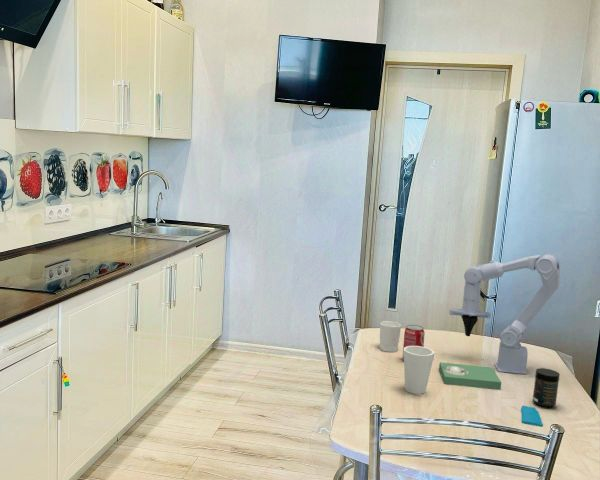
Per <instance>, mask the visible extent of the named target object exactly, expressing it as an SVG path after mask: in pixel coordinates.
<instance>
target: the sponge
mask: <svg viewBox="0 0 600 480" xmlns="http://www.w3.org/2000/svg"><path fill="white" fill-rule="evenodd" d="M520 412H521V413H520V414H521V423H522V424H525V425H531V426H536V427H544V423H543V421H542V418H541V416H540V412H539V411H538V410H537V409H536V407H533V406H528V405H521V408H520Z"/></svg>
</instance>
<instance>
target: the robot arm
mask: <svg viewBox="0 0 600 480" xmlns="http://www.w3.org/2000/svg"><path fill="white" fill-rule="evenodd" d="M523 269H529V270H531V271H532V272H533V271H535V270H536V272H537V273H538V275H539V277H540V278H541V279H540V280H541V283H542V286H541V287H540V288H539V289H538V291H537V292H536V293H535V295H533V297H532V298H531V299H530V301H529V302H528V303H527V305H526V306H525V307H524V308H523V310H522V311H521V312H520V314H519V315H517V317H516V318H515V320H514V321H513V322H512V323H511V324H508V325H507V326H506V327H505V328H504V330H503V331H502V332H501V333H500V335H499V341H500V342H499V347H498V357H497V362H494V363H493V365H494V367H495V368H496V370H497V371H498V372H499V373H500V372H501V373H509V374H510V373H511V374H521V375H526V374H527V366H528V365H527V364H528V348H527V347H526V346H523V345H522V344H521V342H520V340H521V339H522V338H523V335H524V331H525V330H526V328H528V326H529V325H530V324H531V323H532V321H533V320H534V319H535V317H536V316H537V315H538V314H539V313H540V311H541V310H543V308H544V306H545V305H546V304H547V302H549V300H550V299H551V297H552V296H554V294H555V293H556V292H557V290H558V289H559V287H560V278H561V277H560V273H561V265H560V262H559V259H558V257H556V255H555V254H553V253H545V254H543V255H542V254H535V255H530V256H526V257H522V258H518V259H515V260H511V261H507V262H505V263H504V262H503V263H501V262H500V261H495V260H490V261H489V263H485V264H484V263H483V264H480V263H479V264H477V265H476V266H471V267H470V268H468V269H466V271H464V274H463V275H464V276H463V277H464V280H465V282H464V287H463V288H464V290H463V298H462V307H461V308H449V312H448V313H449V316H459V317H461V320H462V323H463V326H464V334H465V336H466V337H471V333H472V331H473V329H474V327H475V325H476V324H477V323H478V319H479V318H482V319H483V318H484V319H488V320H489V319H490V320H491V317H492V316H491V315H492V313H491V312H490V311H482V310H479V307H480V299H481V289H482V288H481V286H482V285H481V284H482V281H483V282H484V281H490V280H493V279H498V278H501V277H503V276H504V273H507V272H512V271H517V270H523Z"/></svg>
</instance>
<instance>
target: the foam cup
mask: <svg viewBox="0 0 600 480" xmlns="http://www.w3.org/2000/svg"><path fill="white" fill-rule="evenodd" d="M403 357H404V360H403V368H404V370H403V371H404V390H405V391H406V392H407V393H409V392H410V393H409V394H413V393H414V394H413V395H422V393H423V394H425V393H426V390H427V387H428V383H429V378H430V374H431V370H432V367H433V362H434V360H435V351H434V350H432V349H431V348H428V347H425V346H424V347H421V346H407V347H405V348H404V351H403V350H402V358H403Z"/></svg>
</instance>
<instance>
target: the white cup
mask: <svg viewBox="0 0 600 480" xmlns="http://www.w3.org/2000/svg"><path fill="white" fill-rule="evenodd" d="M379 325H380V326H379V349H380V350H381V351H384V352H387V353H393V352H394V353H395V352H397V351H398V350H399V344H400V343H399V342H400V337H401V336H400V335H401V328H402V324H401V323H399V322H396V321H391V320H390V321H389V320H383V321H380V323H379Z"/></svg>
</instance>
